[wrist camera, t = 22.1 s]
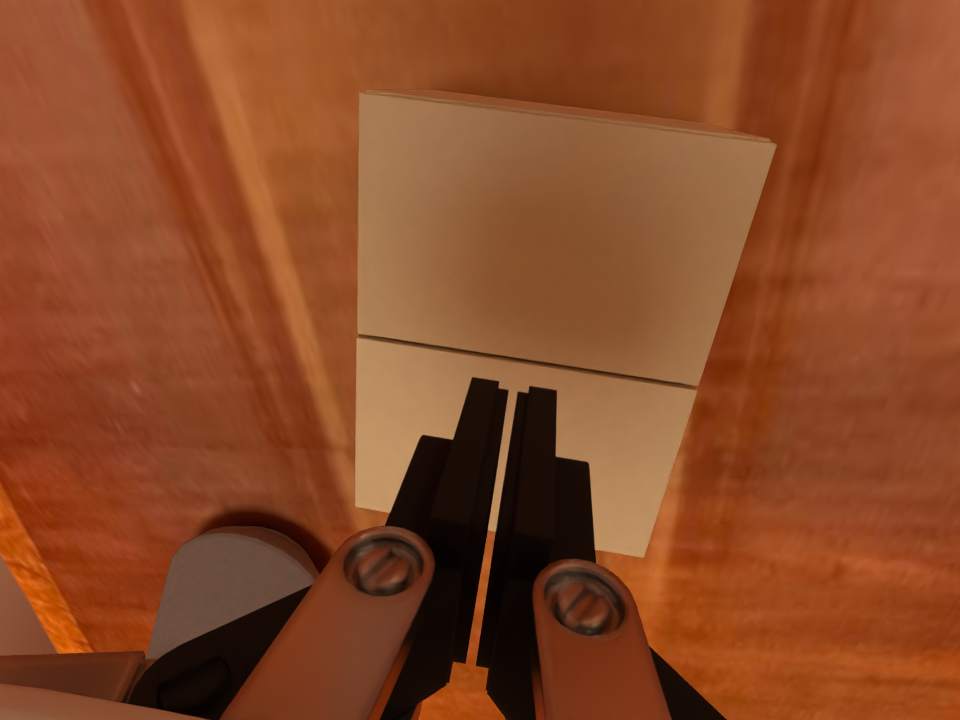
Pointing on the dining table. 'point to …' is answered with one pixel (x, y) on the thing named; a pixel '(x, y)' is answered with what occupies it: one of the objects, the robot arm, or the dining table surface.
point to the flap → (550, 234)
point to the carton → (580, 392)
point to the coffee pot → (226, 581)
